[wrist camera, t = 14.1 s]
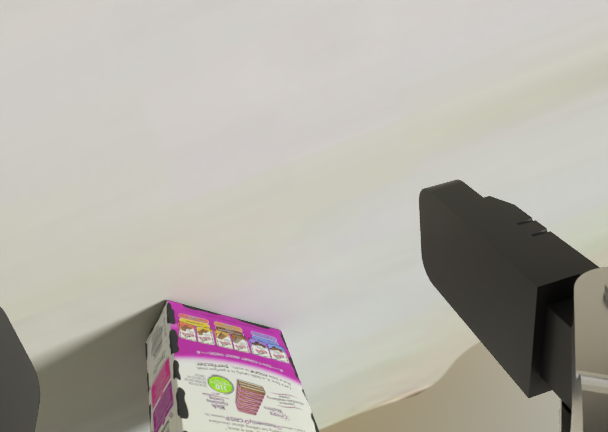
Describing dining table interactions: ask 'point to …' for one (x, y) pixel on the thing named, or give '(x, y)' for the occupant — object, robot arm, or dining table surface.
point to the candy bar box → (221, 376)
